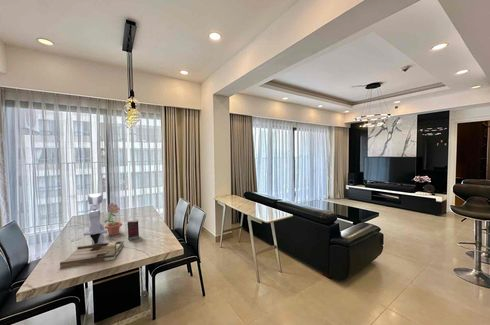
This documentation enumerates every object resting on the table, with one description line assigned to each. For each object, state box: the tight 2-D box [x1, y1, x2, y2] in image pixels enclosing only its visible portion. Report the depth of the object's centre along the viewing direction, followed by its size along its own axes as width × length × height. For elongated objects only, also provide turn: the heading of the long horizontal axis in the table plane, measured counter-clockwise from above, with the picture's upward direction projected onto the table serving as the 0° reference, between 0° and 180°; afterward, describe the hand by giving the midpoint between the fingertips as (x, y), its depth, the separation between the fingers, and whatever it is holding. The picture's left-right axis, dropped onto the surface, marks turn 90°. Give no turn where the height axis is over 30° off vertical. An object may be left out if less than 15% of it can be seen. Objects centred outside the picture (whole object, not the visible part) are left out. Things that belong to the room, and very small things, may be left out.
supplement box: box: [127, 219, 140, 241], centre depth 179 cm, size 9×5×16 cm, turn 120°
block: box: [107, 241, 117, 252], centre depth 153 cm, size 5×5×5 cm
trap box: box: [59, 240, 125, 268], centre depth 150 cm, size 24×32×4 cm
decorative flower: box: [104, 202, 123, 236], centre depth 188 cm, size 15×14×30 cm
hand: (96, 243), depth 150 cm, fingers closed
